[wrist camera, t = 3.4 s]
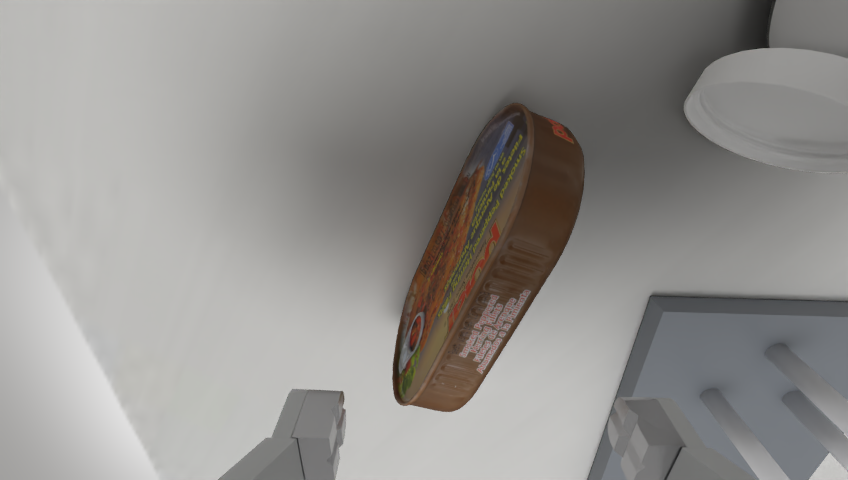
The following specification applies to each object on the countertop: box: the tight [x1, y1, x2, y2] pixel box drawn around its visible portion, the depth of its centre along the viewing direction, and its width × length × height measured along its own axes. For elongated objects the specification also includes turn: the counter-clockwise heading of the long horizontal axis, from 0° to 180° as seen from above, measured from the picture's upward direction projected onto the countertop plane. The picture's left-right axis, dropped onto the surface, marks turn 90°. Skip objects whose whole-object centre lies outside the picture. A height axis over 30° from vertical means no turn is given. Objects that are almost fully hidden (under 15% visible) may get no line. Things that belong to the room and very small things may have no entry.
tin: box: [392, 103, 585, 412], centre depth 19 cm, size 15×3×8 cm, turn 159°
